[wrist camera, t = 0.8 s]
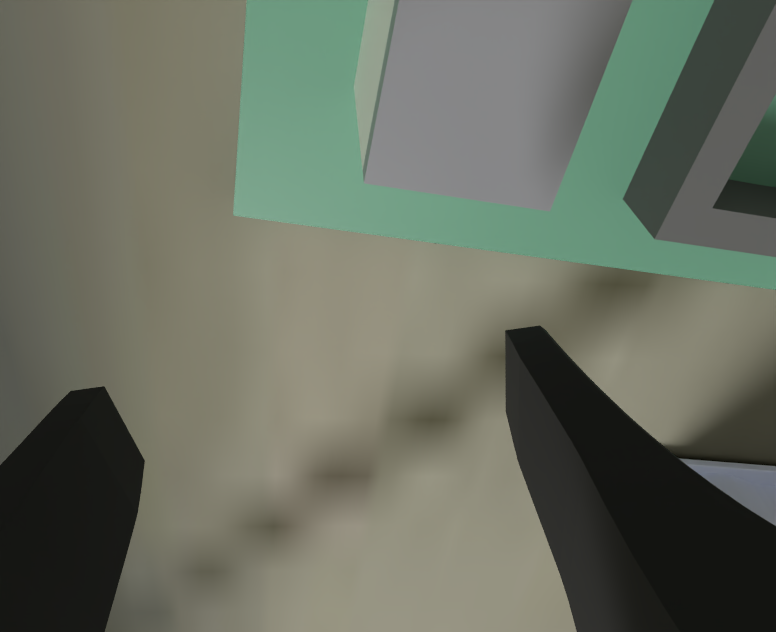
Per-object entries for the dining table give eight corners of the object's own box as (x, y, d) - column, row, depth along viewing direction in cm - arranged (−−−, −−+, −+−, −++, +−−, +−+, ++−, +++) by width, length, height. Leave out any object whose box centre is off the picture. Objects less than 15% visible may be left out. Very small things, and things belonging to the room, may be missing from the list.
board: (1154, -168, 16) (1325, -167, 13) (824, 283, 24) (888, 342, 22) (280, -452, 12) (266, -533, 9) (236, 200, 20) (222, 258, 18)
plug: (552, -92, 15) (653, -55, 11) (491, 111, 18) (550, 211, 14) (390, -131, 15) (420, -111, 10) (353, 86, 18) (364, 183, 13)
